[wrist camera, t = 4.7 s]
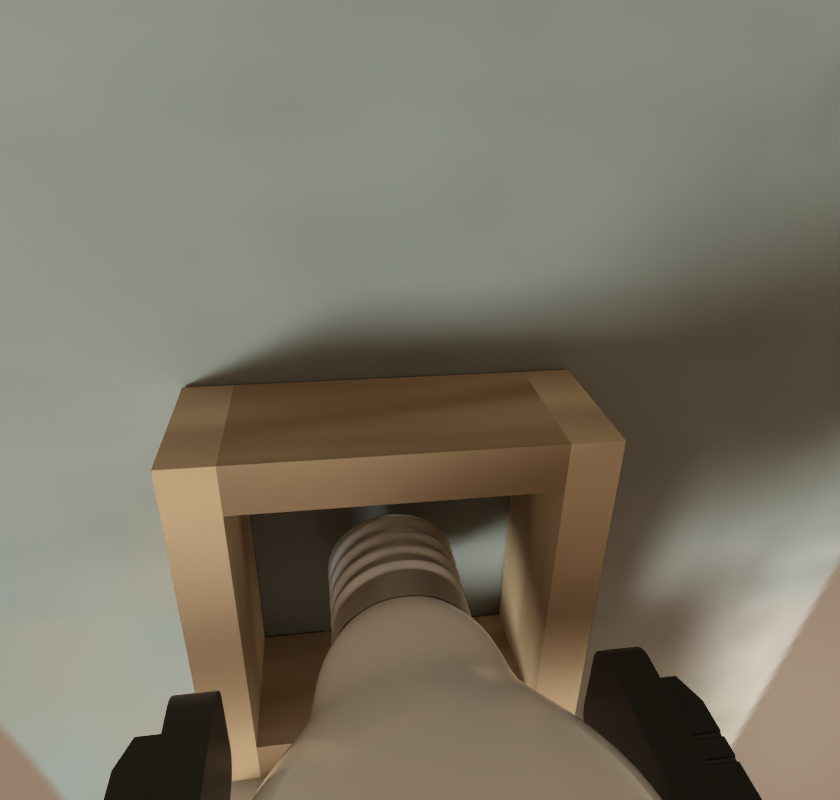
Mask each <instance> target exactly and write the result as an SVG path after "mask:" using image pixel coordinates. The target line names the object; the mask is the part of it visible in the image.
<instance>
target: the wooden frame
mask: <svg viewBox="0 0 840 800" xmlns="http://www.w3.org/2000/svg"><path fill="white" fill-rule="evenodd" d="M625 444H626V440H625V439H624V438H623V436H622V435H621V434H620V433H619V431H618V430H617V429H616V428H615V427H614V425H613V424H612V423H611V422H610V420H609V419H608V418H607V417H606V416H605V414H604V413H603V412H602V411H601V409H600V408H599V407H598V406H597V404H596V403H595V402H594V401H593V400H592V398H591V397H590V396H589V395H588V393H587V392H586V391H585V390H584V389H583V387H582V386H581V385H580V384H579V382H578V381H577V380H576V379H575V378H574V376H573V375H572V374H571V373H570V371H569V370H549V371H528V372H506V373H485V374H463V375H441V376H420V377H398V378H377V379H355V380H334V381H312V382H290V383H269V384H247V385H226V386H204V387H182V390H181V392H180V395H179V398H178V400H177V403H176V406H175V408H174V411H173V414H172V416H171V419H170V421H169V424H168V427H167V429H166V432H165V435H164V437H163V440H162V443H161V445H160V448H159V451H158V453H157V456H156V458H155V461H154V464H153V466H152V469H151V473H152V478H153V483H154V488H155V493H156V498H157V503H158V509H159V514H160V519H161V524H162V529H163V534H164V539H165V544H166V549H167V554H168V559H169V564H170V569H171V574H172V579H173V584H174V589H175V594H176V599H177V604H178V609H179V614H180V619H181V624H182V629H183V634H184V639H185V644H186V649H187V654H188V659H189V664H190V669H191V675H192V680H193V685H194V690H195V693H202V692H211V691H220V693H221V697H222V702H223V708H224V713H225V719H226V725H227V730H228V736H229V742H230V748H231V757H232V781H237V780H245V779H253V778H261V777H267V775H268V774H269V773H270V771H271V770H272V769H273V767H274V766H275V765H276V763H277V762H278V761H279V759H280V758H281V757H282V755H283V754H284V753H285V752H286V750H287V749H288V748H289V747H290V745H291V744H292V743H293V741H294V740H295V739H296V738H297V736H298V735H299V734H300V732H301V731H302V729H303V728H304V726H305V725H306V723H307V721H308V718H309V715H310V712H311V708H312V703H313V698H314V692H315V688H316V683H317V679H318V675H319V672H320V669H321V666H322V663H323V661H324V659H325V656H326V654H327V652H328V650H329V649H330V647H331V632H332V631H326V632H316V633H306V634H295V635H285V636H275V637H265V635H264V627H263V618H262V610H261V602H260V594H259V586H258V577H257V569H256V561H255V553H254V545H253V536H252V528H251V520H250V514H264V513H278V512H292V511H305V510H319V509H333V508H347V507H360V506H374V505H388V504H402V503H416V502H429V501H443V500H457V499H471V498H484V497H498V496H511V500H510V510H509V520H508V530H507V540H506V550H505V560H504V571H503V581H502V591H501V601H500V611H499V615H490V616H480V617H472V618H473V619H474V620H476V621H477V622H478V623H479V624H480V625H481V626H482V627H483V628H484V629H485V630H486V632H487V633H488V634H489V635H490V637H491V638H492V639H493V641H494V642H495V644H496V645H497V647H498V648H499V650H500V652H501V653H502V655H503V657H504V659H505V660H506V662H507V664H508V665H509V667H510V669H511V670H512V672H513V673H514V674H515V675H516V677H517V678H518V679H519V680H521V681H522V682H523V683H524V684H526V685H527V686H529V687H531V688H532V689H534V690H535V691H537V692H539V693H540V694H542V695H544V696H545V697H547V698H549V699H550V700H552V701H554V702H555V703H557V704H558V705H560V706H562V707H563V708H565V709H566V710H568V711H569V712H571V713H572V714H574V715H575V712H576V707H577V701H578V696H579V691H580V685H581V680H582V674H583V669H584V664H585V658H586V653H587V648H588V642H589V637H590V632H591V626H592V621H593V616H594V610H595V605H596V599H597V594H598V589H599V583H600V578H601V573H602V567H603V562H604V557H605V551H606V546H607V541H608V535H609V530H610V525H611V519H612V514H613V508H614V503H615V498H616V492H617V487H618V482H619V476H620V471H621V466H622V460H623V455H624V450H625Z"/></svg>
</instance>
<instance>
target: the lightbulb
mask: <svg viewBox="0 0 840 800" xmlns="http://www.w3.org/2000/svg"><path fill="white" fill-rule="evenodd" d="M328 579H329V595H330V611H331V628H332V632H331V647H330V649H329V650H328V652H327V654H326V656H325V659H324V661H323V663H322V666H321V669H320V672H319V675H318V679H317V683H316V688H315V692H314V698H313V703H312V708H311V712H310V715H309V718H308V721H307V723H306V725H305V726H304V728H303V729H302V731H301V732H300V734H299V735H298V736H297V738H296V739H295V740H294V741H293V743H292V744H291V745H290V747H289V748H288V749H287V750H286V752H285V753H284V754H283V755H282V757H281V758H280V759H279V761H278V762H277V763H276V765H275V766H274V767H273V769H272V770H271V771H270V773H269V774H268V775H267V777H266V778H265V780H264V781H263V782H262V784H261V785H260V787H259V788H258V790H257V791H256V793H255V794H254V796H253V797H252V799H251V800H663V799H662V798H661V797H660V795H659V794H658V793H657V791H656V790H655V789H654V788H653V787H652V785H651V784H650V783H649V782H648V780H647V779H646V778H645V777H644V776H643V775H642V773H641V772H640V771H639V770H638V769H637V768H636V767H635V766H634V765H633V764H632V763H631V762H630V761H629V760H628V759H627V758H626V757H625V756H624V755H623V754H622V753H621V752H620V751H619V750H618V749H617V748H616V747H615V746H614V745H612V744H611V743H610V742H609V741H608V740H607V739H606V738H604V737H603V736H602V735H601V734H599V733H598V732H597V731H596V730H594V729H593V728H592V727H590V726H589V725H588V724H586V723H585V722H584V721H582V720H581V719H579V718H578V717H577V716H575V715H574V714H572V713H571V712H569V711H568V710H566V709H565V708H563V707H562V706H560V705H558V704H557V703H555V702H554V701H552V700H550V699H549V698H547V697H545V696H544V695H542V694H540V693H539V692H537V691H535V690H534V689H532V688H531V687H529V686H527V685H526V684H524V683H523V682H522V681H521V680H519V679H518V678H517V677H516V675H515V674H514V673H513V672H512V670H511V669H510V667H509V665H508V664H507V662H506V660H505V659H504V657H503V655H502V653H501V652H500V650H499V648H498V647H497V645H496V644H495V642H494V641H493V639H492V638H491V637H490V635H489V634H488V633H487V632H486V630H485V629H484V628H483V627H482V626H481V625H480V624H479V623H478V622H477V621H476V620H474V619H473V618H472V616H471V613H470V610H469V607H468V603H467V601H466V598H465V597H464V590H463V587H462V584H461V582H460V577H459V573H458V570H457V568H456V563H455V559H454V557H453V555H452V549H451V546H450V543H449V541H448V539H447V538H446V536H445V535H444V533H443V532H442V531H441V530H440V529H439V528H438V527H437V526H435V525H434V524H432V523H431V522H429V521H427V520H425V519H422V518H420V517H416V516H412V515H405V514H389V515H382V516H378V517H374V518H371V519H368V520H366V521H363V522H361V523H359V524H358V525H356V526H354V527H353V528H351V529H350V530H349V531H347V532H346V533H345V534H344V535H343V536H342V537H341V538H340V539H339V541H338V542H337V543H336V545H335V546H334V548H333V550H332V552H331V555H330V559H329V563H328Z"/></svg>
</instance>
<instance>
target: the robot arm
mask: <svg viewBox="0 0 840 800" xmlns="http://www.w3.org/2000/svg"><path fill="white" fill-rule="evenodd" d="M583 714H584V722H585V723H586V724H588V725H589V726H590V727H592V728H593V729H594V730H596V731H597V732H598V733H599V734H601V735H602V736H603V737H604V738H606V739H607V740H608V741H609V742H610V743H611V744H612V745H614V746H615V747H616V748H617V749H618V750H619V751H620V752H621V753H622V754H623V755H624V756H625V757H626V758H627V759H628V760H629V761H630V762H631V763H632V764H633V765H634V766H635V767H636V768H637V769H638V770H639V771H640V772H641V773H642V775H643V776H644V777H645V778H646V779H647V780H648V782H649V783H650V784H651V785H652V787H653V788H654V789H655V790H656V791H657V793H658V794H659V795H660V797H661V798H662V799H663V800H762V799H761V797H760V796H759V794H758V792H757V791H756V789H755V787H754V786H753V784H752V782H751V781H750V779H749V777H748V776H747V774H746V772H745V771H744V769H743V767H742V766H741V764H740V762H737V761H736V759H735V754H734V752H733V751H732V749H731V747H730V746H729V744H728V742H727V741H726V739H725V737H724V736H723V737H722V736H721V733H720V729H719V727H718V726H717V724H716V722H715V721H714V719H713V717H712V716H711V714H710V712H709V711H708V709H707V707H706V706H705V704H704V702H703V701H702V700H701V699H700V698H699V697H698V696H697V695H696V694H695V693H694V692H693V691H691V690H690V689H689V688H688V687H687V686H686V685H685V684H684V683H683V682H682V681H680V680H679V679H678V678H677V677H676V676H672V677H663V678H660V676H659V675H658V673H657V671H656V669H655V667H654V666H653V664H652V662H651V660H650V658H649V657H648V655H647V654H646V652H645V651H644V650H643V649H642V648H640V647H630V648H621V649H611V650H602V651H597V652H596V653H595V655H594V659H593V664H592V669H591V674H590V679H589V684H588V689H587V694H586V699H585V704H584V713H583ZM231 783H232V757H231V748H230V742H229V736H228V730H227V725H226V719H225V713H224V708H223V702H222V697H221V693H220V691H211V692H202V693H192V694H183V695H174V696H172V697H171V698H170V700H169V702H168V706H167V710H166V715H165V719H164V724H163V729H162V733H161V734H158V735H149V736H141V737H134V739H133V740H132V742H131V743H130V745H129V746H128V748H127V749H126V751H125V752H124V754H123V755H122V756H121V758H120V759H119V761H118V762H117V764H116V765H115V767H114V768H113V770H112V772H111V775H110V779H109V783H108V786H107V790H106V794H105V797H104V800H230V796H231Z"/></svg>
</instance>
